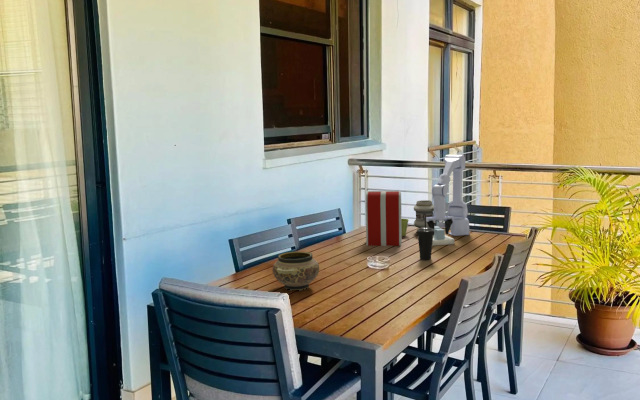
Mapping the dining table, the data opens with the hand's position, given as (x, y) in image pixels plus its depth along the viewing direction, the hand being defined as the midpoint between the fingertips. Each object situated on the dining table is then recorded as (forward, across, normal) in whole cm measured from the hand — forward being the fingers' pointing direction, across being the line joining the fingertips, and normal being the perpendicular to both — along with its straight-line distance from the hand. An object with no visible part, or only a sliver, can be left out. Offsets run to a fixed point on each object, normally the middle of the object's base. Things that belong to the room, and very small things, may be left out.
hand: (439, 234), depth 303 cm
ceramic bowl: (+4, -84, -59) cm, 103 cm away
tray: (+4, 0, +3) cm, 5 cm away
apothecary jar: (+5, +3, +28) cm, 29 cm away
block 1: (+4, +3, +13) cm, 14 cm away
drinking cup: (+4, -20, -31) cm, 37 cm away
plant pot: (+5, -12, +26) cm, 29 cm away
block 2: (+3, 0, 0) cm, 3 cm away
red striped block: (+4, -26, +11) cm, 29 cm away
